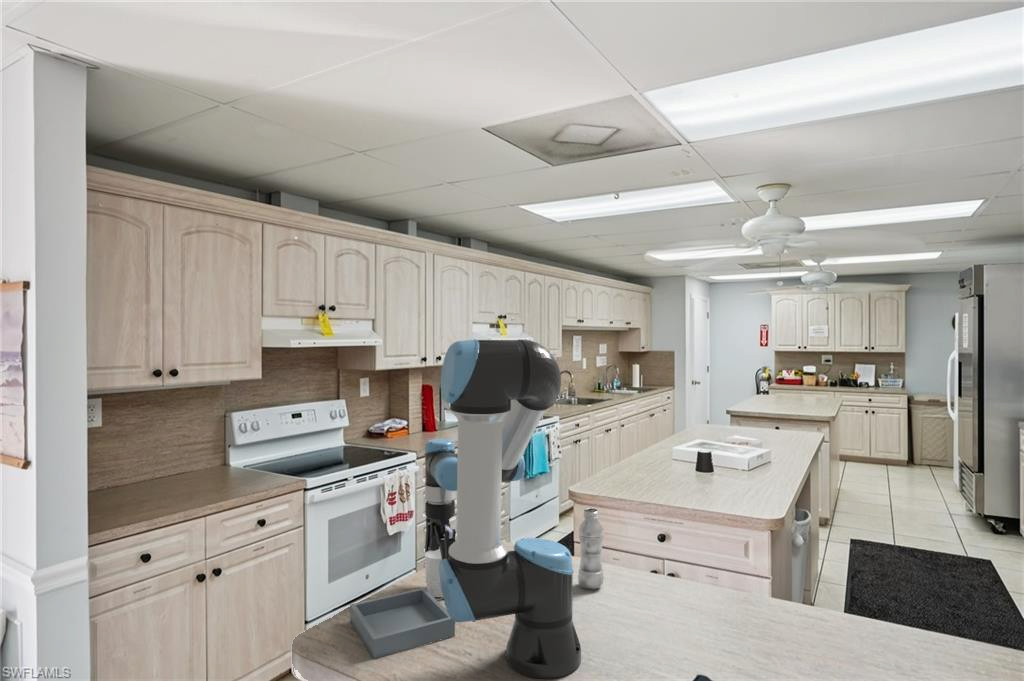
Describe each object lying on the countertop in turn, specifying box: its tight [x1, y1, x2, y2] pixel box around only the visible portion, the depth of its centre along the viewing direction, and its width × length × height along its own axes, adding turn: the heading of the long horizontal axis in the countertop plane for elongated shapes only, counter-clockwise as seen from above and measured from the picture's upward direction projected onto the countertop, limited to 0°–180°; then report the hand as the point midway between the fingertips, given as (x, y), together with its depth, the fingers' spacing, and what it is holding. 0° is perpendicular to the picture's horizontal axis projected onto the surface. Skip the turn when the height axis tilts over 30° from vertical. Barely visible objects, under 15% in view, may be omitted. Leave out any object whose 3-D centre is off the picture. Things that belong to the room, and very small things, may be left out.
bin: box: [349, 587, 456, 660], centre depth 132 cm, size 18×18×4 cm
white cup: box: [424, 547, 442, 598], centre depth 150 cm, size 8×8×10 cm
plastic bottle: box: [577, 508, 605, 590], centre depth 153 cm, size 6×7×20 cm
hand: (440, 589), depth 150 cm, fingers closed on white cup, 7 cm apart
